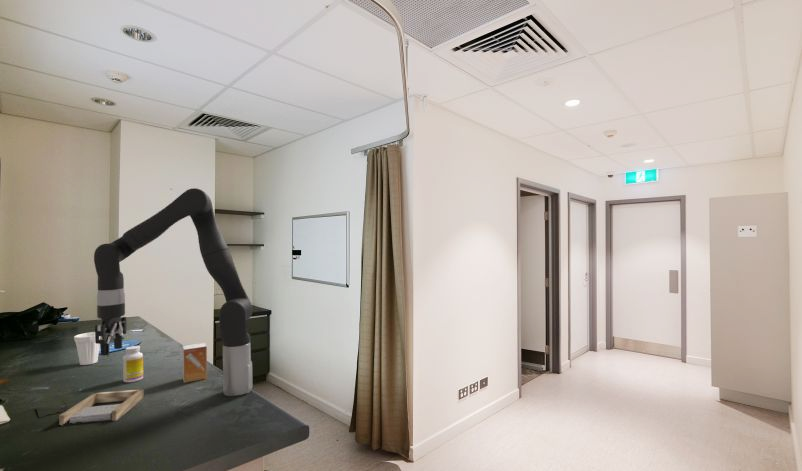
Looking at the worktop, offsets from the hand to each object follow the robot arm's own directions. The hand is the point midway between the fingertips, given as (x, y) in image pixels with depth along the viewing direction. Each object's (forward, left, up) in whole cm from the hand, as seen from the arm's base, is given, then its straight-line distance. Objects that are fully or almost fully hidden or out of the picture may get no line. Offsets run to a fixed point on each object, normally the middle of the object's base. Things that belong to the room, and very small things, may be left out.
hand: (111, 351), depth 129 cm
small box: (-19, -20, -18) cm, 33 cm away
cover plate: (0, +9, -18) cm, 20 cm away
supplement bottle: (+5, -24, -18) cm, 30 cm away
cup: (+36, -51, -18) cm, 65 cm away
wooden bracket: (0, +5, -18) cm, 18 cm away
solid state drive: (+18, 0, -18) cm, 26 cm away
